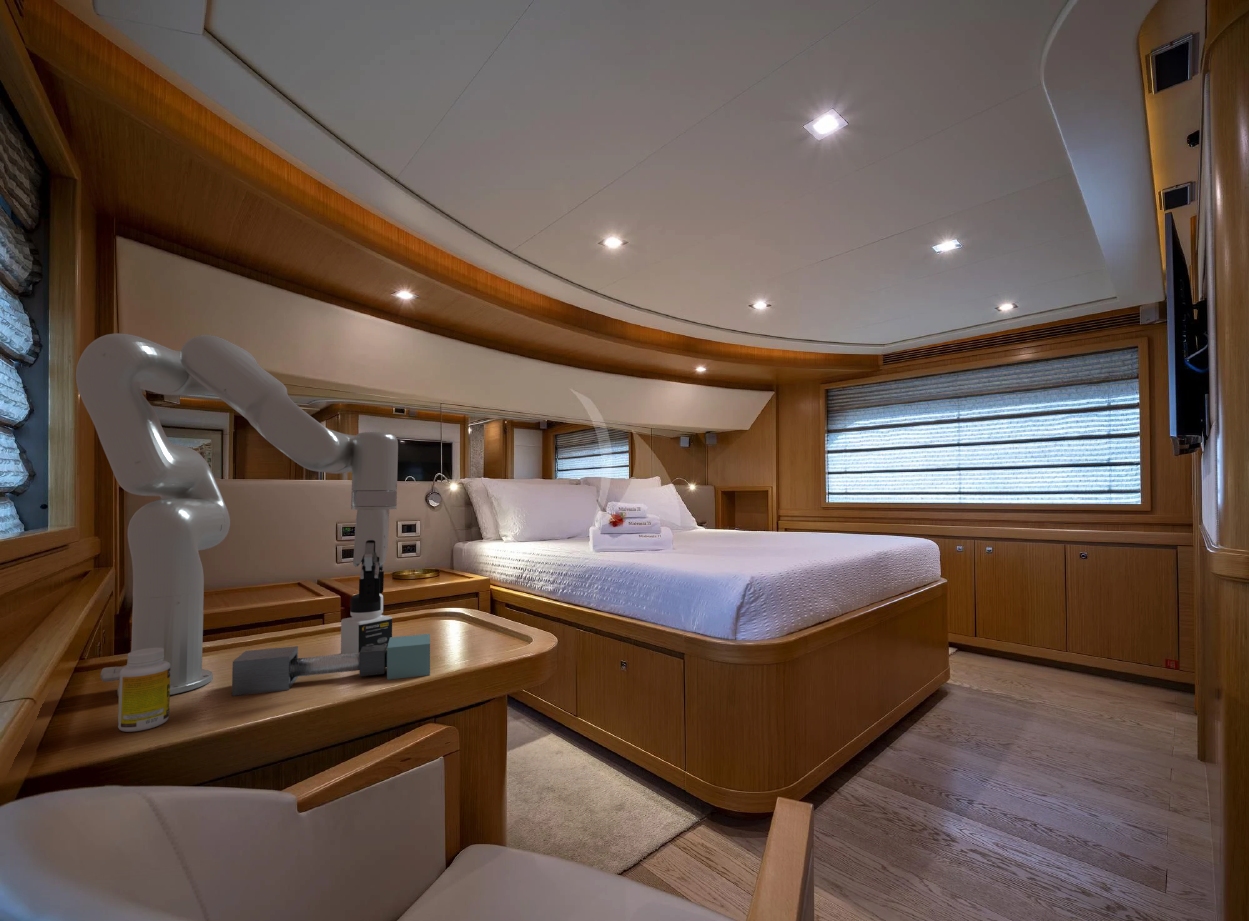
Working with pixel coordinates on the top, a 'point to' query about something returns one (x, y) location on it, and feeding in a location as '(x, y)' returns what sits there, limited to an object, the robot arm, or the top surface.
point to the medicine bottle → (365, 626)
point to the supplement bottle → (144, 690)
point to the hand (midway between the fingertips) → (371, 597)
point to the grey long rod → (343, 663)
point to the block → (408, 656)
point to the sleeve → (263, 671)
